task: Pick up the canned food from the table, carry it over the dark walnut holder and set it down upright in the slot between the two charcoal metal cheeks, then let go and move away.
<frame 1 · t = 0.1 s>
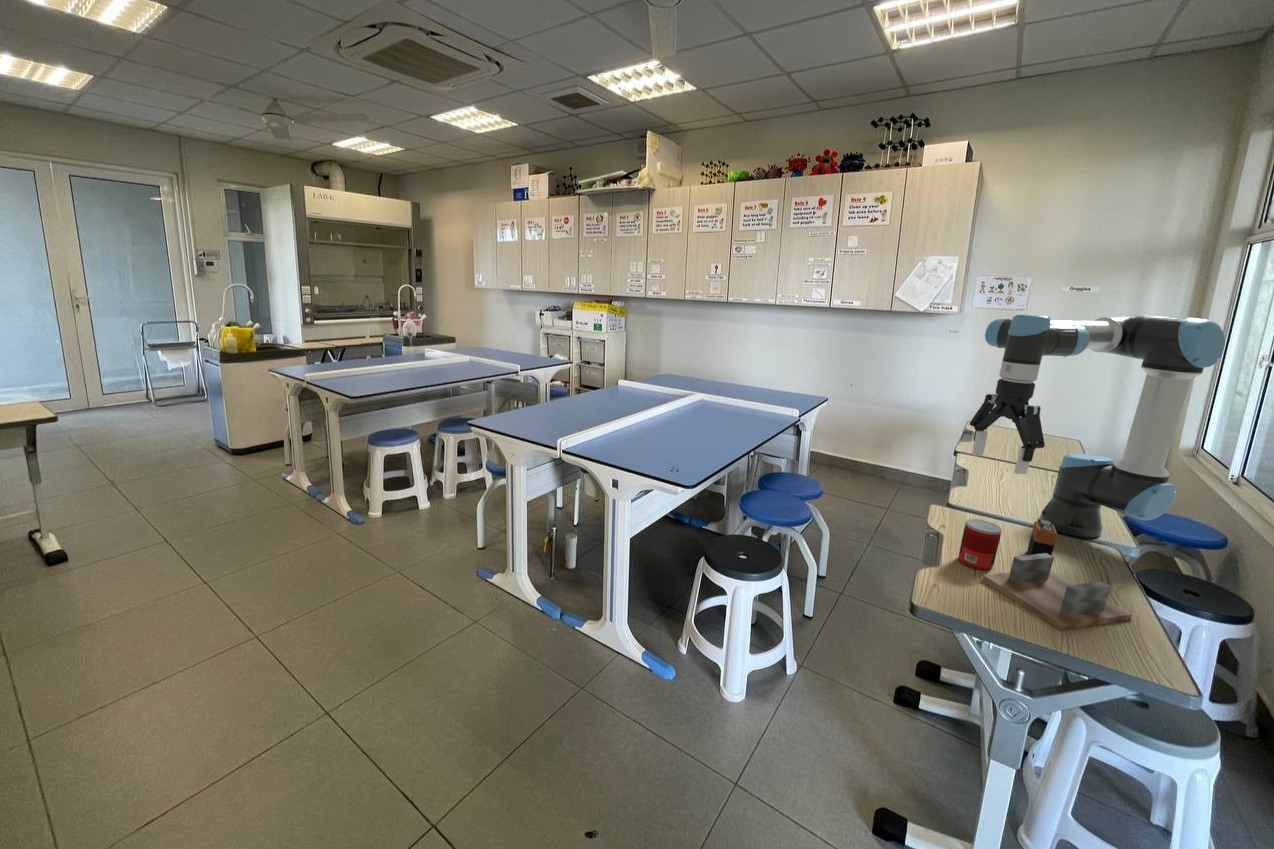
hand: (997, 463, 135), 28 cm above the table, tool pointing down, fingers open, 13 cm apart
canned food: (974, 564, 142), on the table
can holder: (1052, 599, 127), on the table
battery: (1037, 558, 147), on the table
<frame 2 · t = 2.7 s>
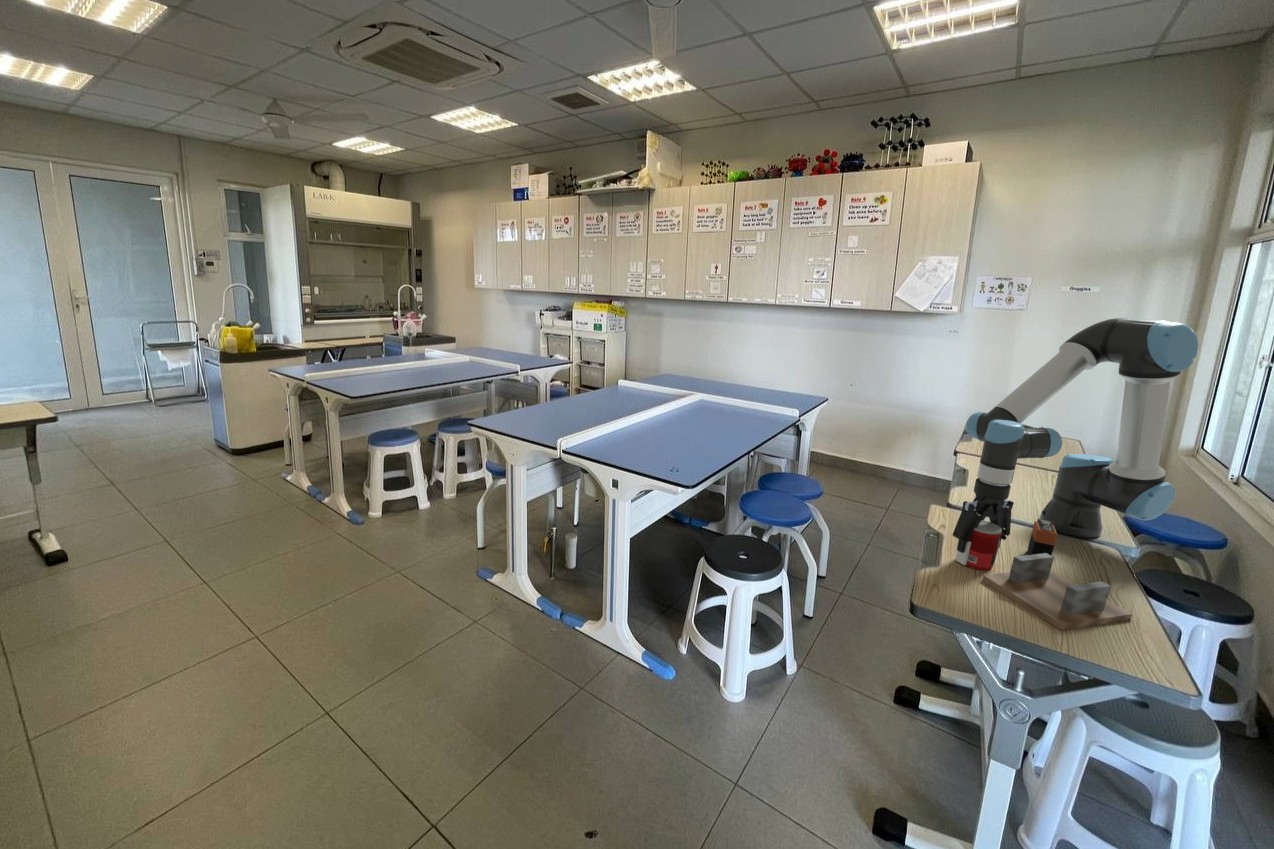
hand: (975, 560, 142), 0 cm above the table, tool pointing down, fingers open, 9 cm apart
canned food: (974, 564, 142), on the table, touching gripper
everything else where it was.
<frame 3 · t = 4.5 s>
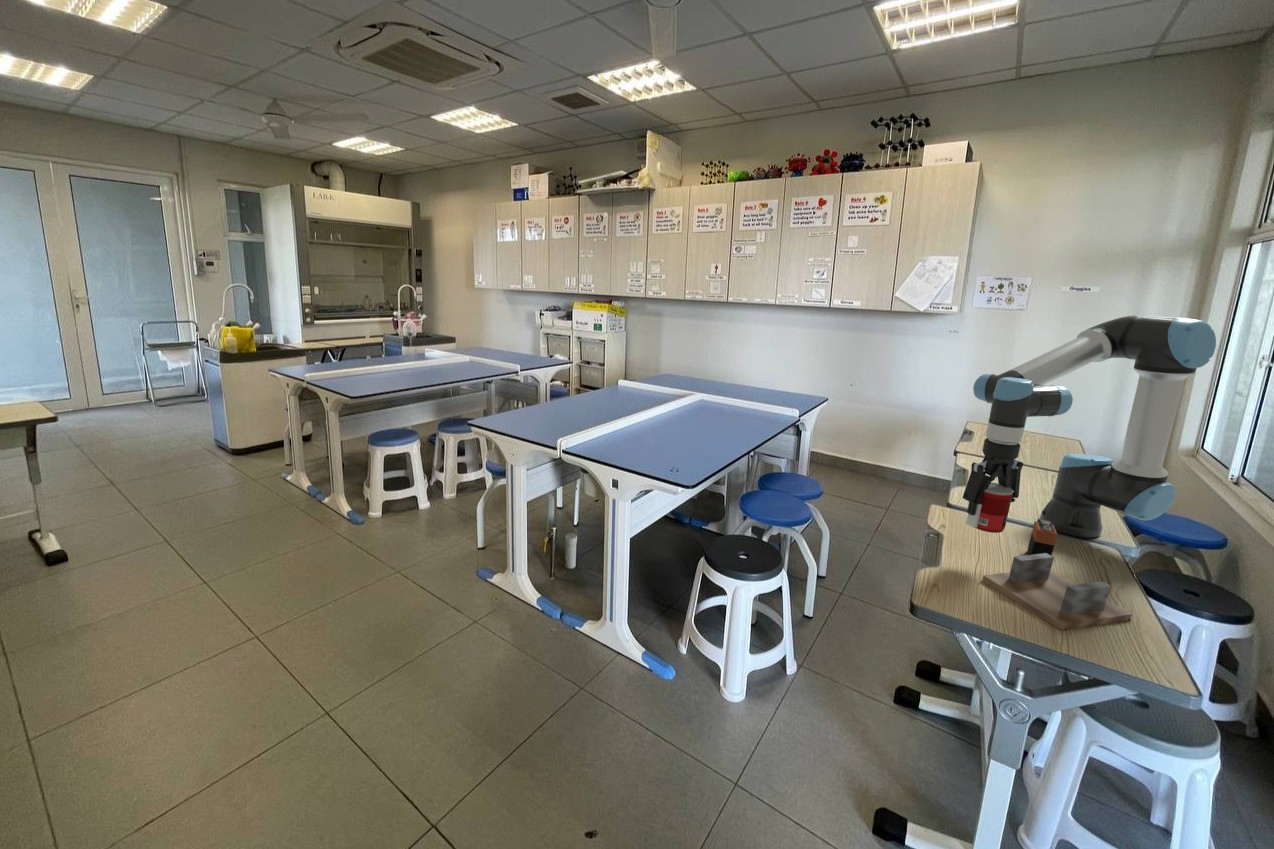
hand: (984, 524, 140), 11 cm above the table, tool pointing down, fingers closed on canned food, 8 cm apart
canned food: (985, 527, 140), point 10 cm above the table, touching gripper
everything else where it was.
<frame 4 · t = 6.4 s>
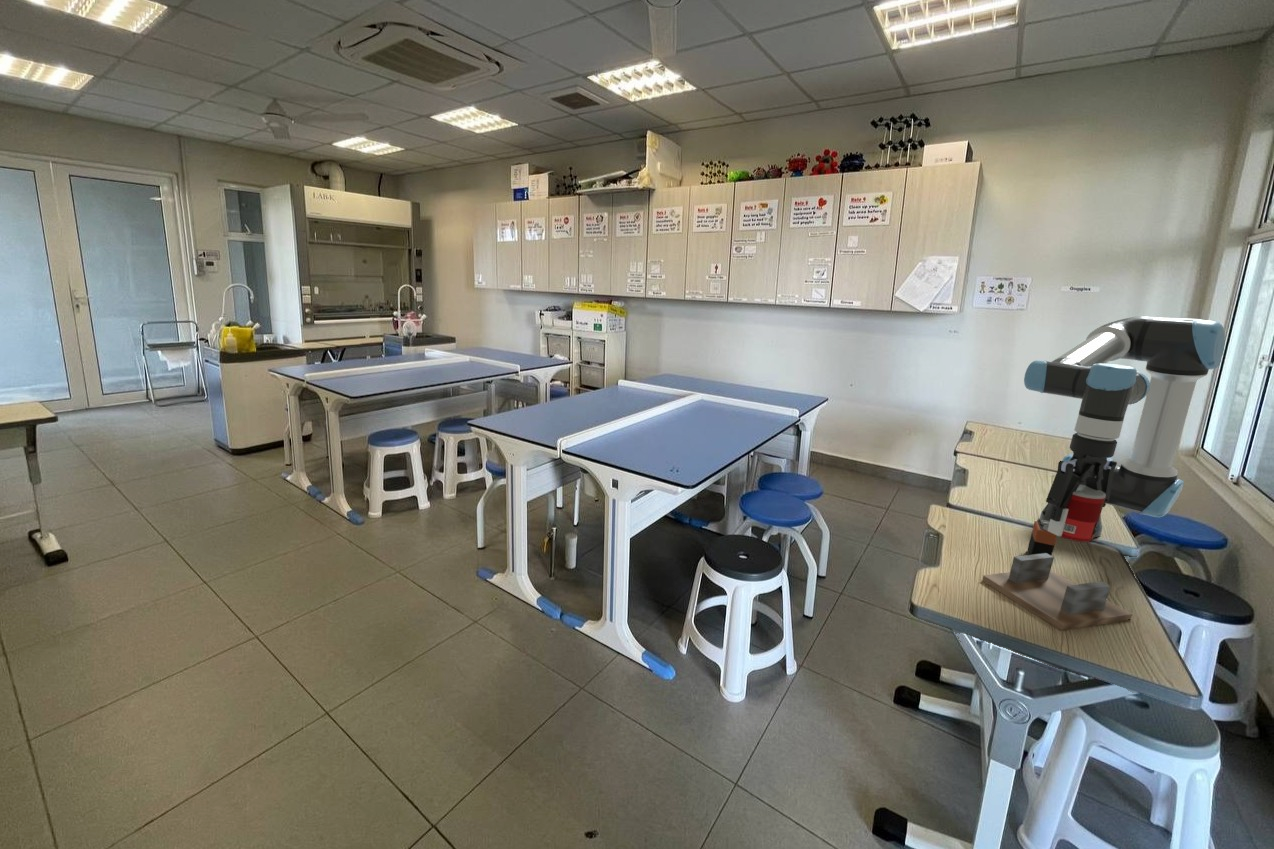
hand: (1069, 531, 122), 17 cm above the table, tool pointing down, fingers closed on canned food, 8 cm apart
canned food: (1070, 535, 122), point 17 cm above the table, touching gripper
everything else where it was.
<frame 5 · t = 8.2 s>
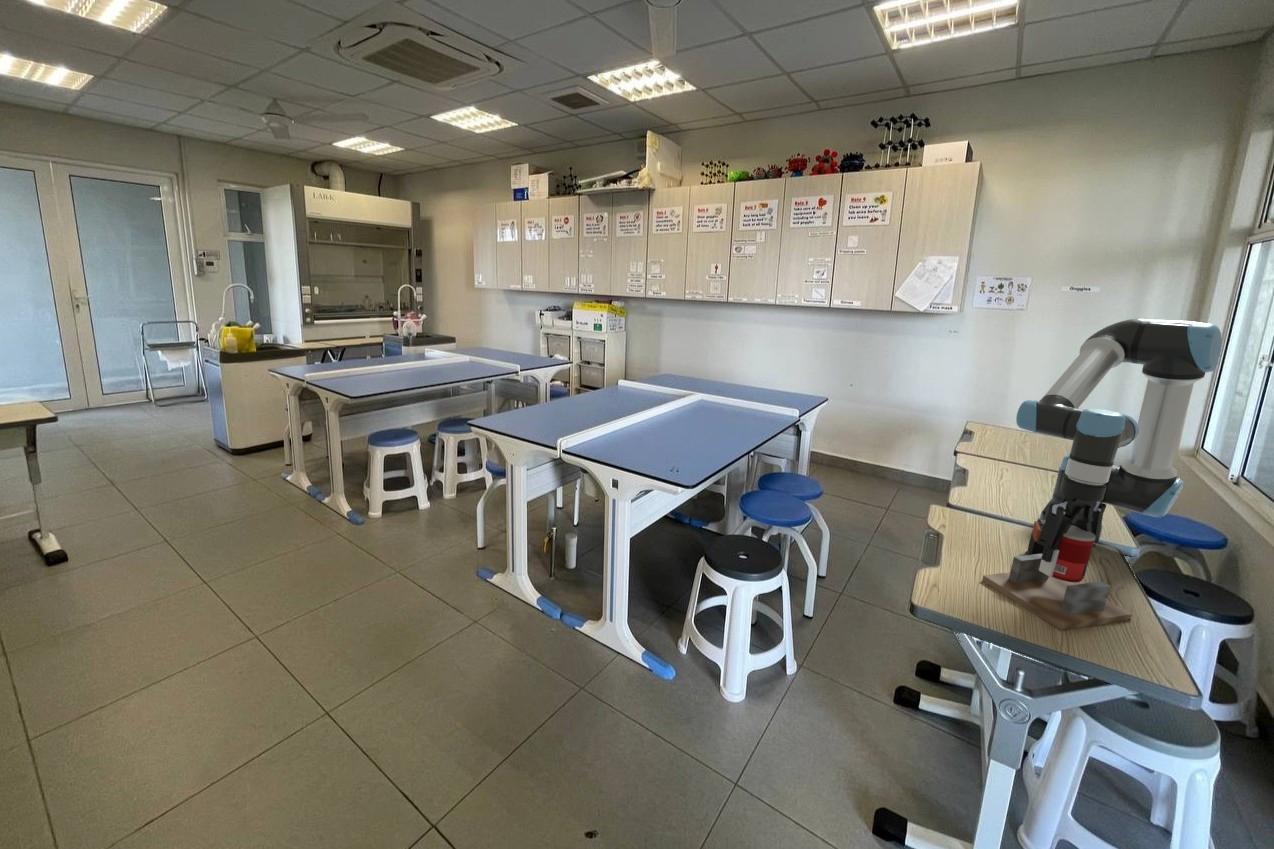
hand: (1059, 571, 125), 7 cm above the table, tool pointing down, fingers closed on canned food, 8 cm apart
canned food: (1061, 574, 124), point 7 cm above the table, touching gripper
everything else where it was.
when the fingers open (3 cm above the table, at t = 9.9 s): canned food drops 1 cm, resting on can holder.
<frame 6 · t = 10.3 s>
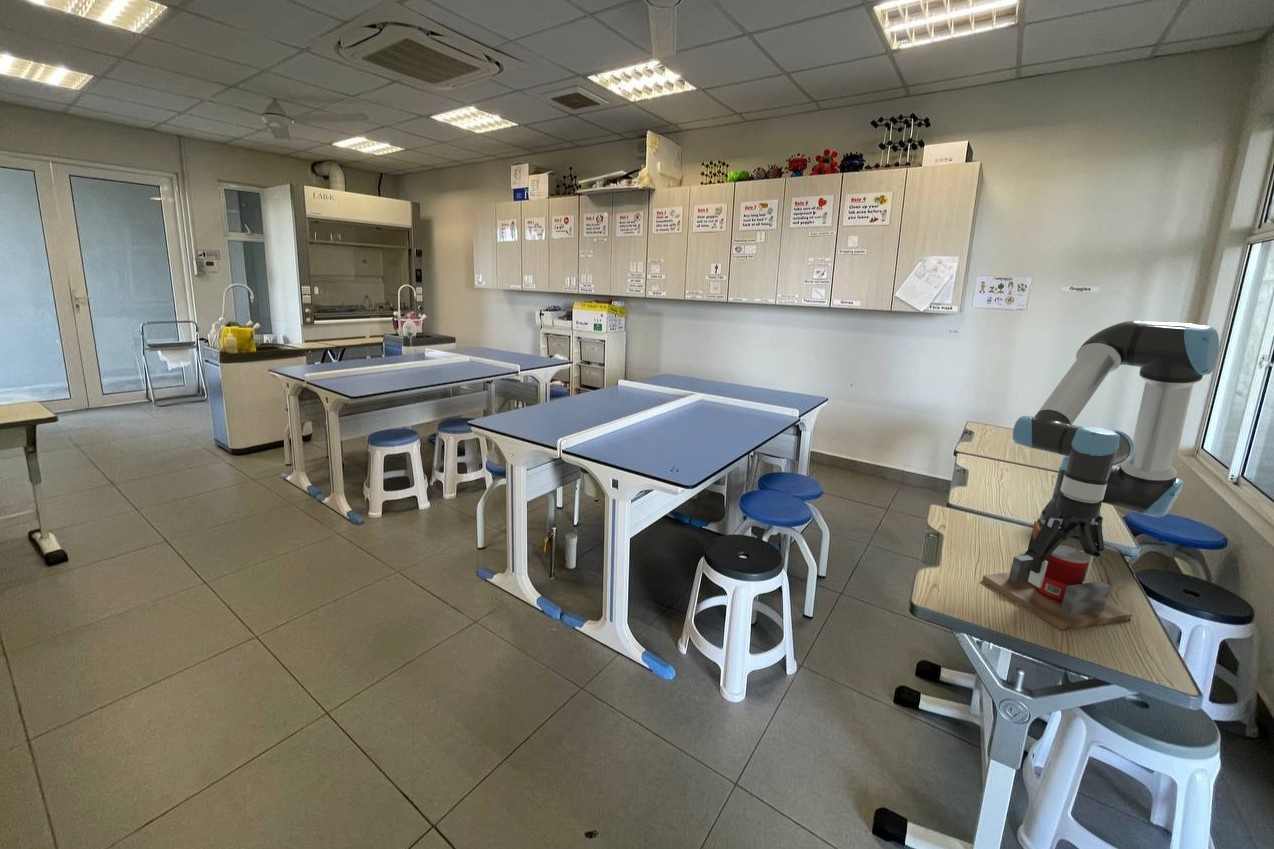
hand: (1057, 581, 125), 5 cm above the table, tool pointing down, fingers open, 13 cm apart
canned food: (1055, 595, 126), point 1 cm above the table, touching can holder
everything else where it was.
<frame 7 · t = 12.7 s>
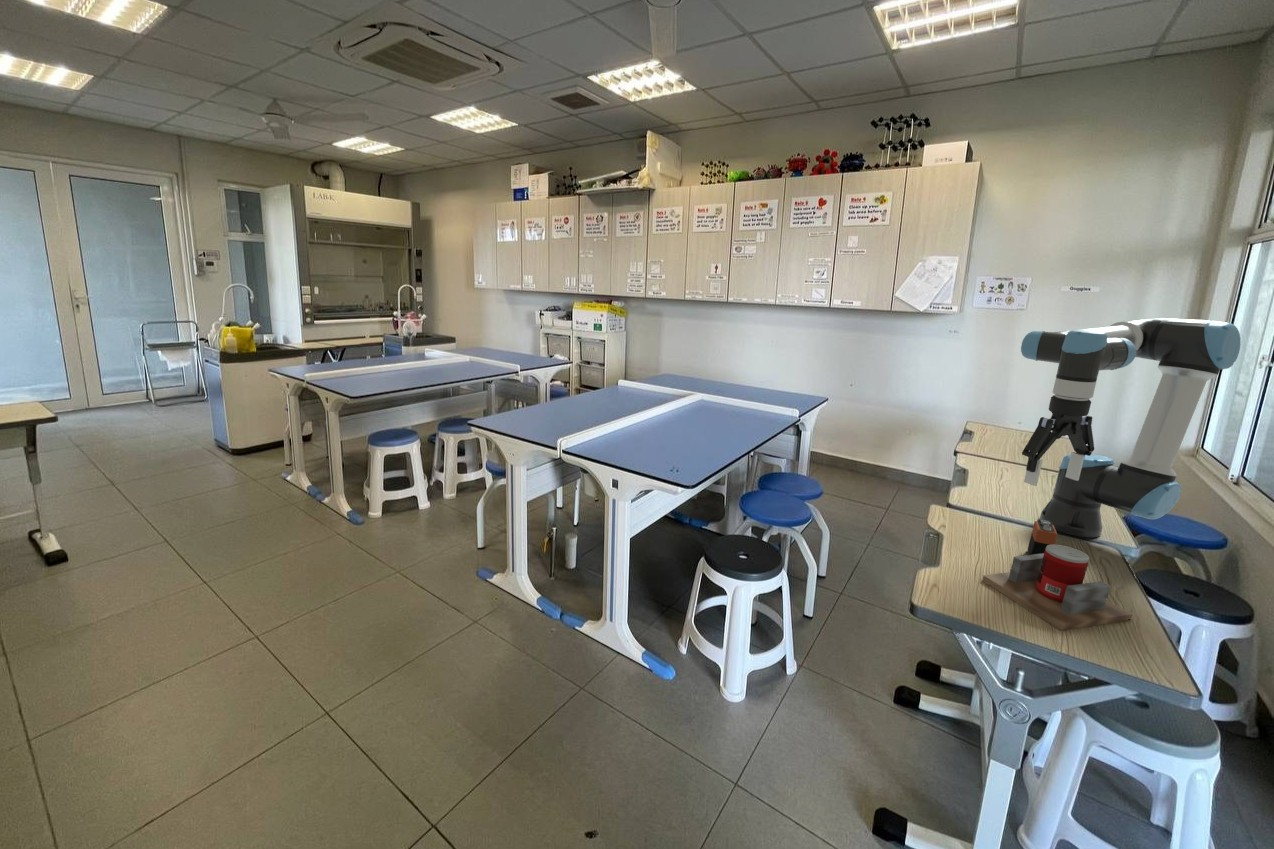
hand: (1051, 481, 133), 25 cm above the table, tool pointing down, fingers open, 13 cm apart
nothing on the table moved.
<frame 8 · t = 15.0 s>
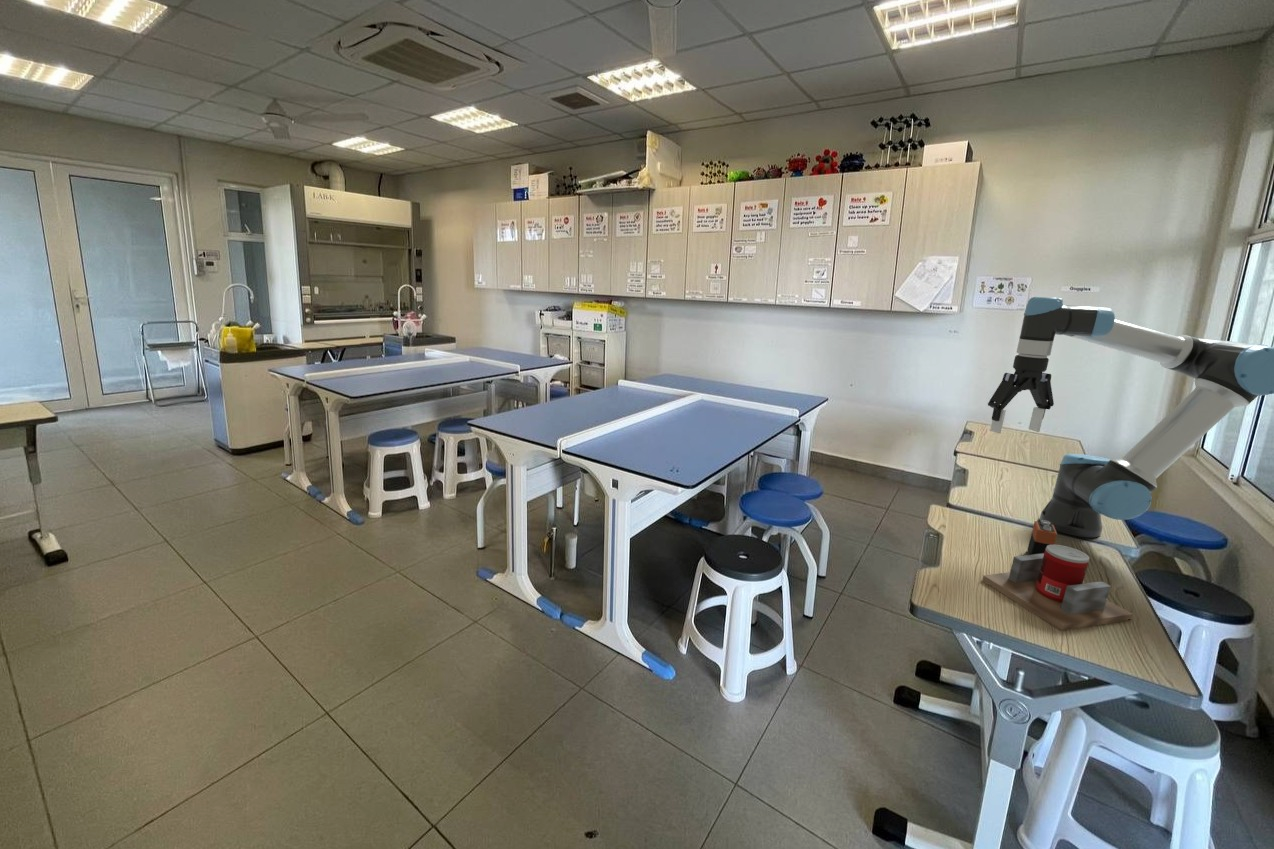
hand: (1014, 431, 151), 32 cm above the table, tool pointing down, fingers open, 13 cm apart
nothing on the table moved.
at the end: canned food 0.4 cm off-centre on the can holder, point 1.3 cm above the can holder's base; canned food tilted 0°; the gripper is holding nothing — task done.
